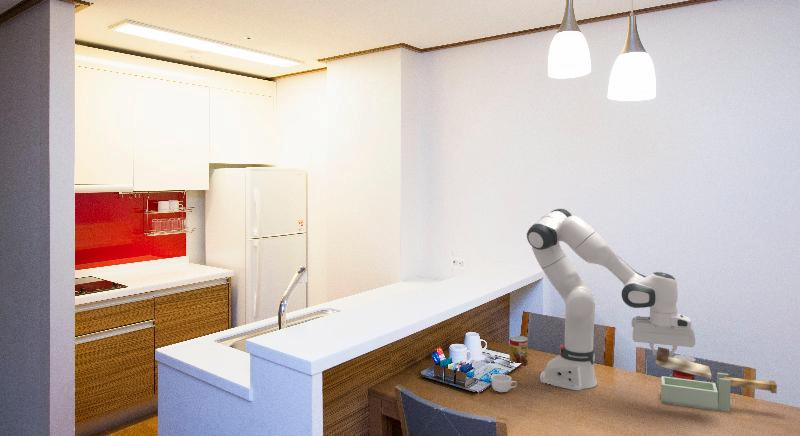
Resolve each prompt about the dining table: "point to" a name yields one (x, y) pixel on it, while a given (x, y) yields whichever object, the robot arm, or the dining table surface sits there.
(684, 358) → the canned food
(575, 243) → the robot arm
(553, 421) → the dining table surface
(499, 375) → the teacup
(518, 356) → the canned food
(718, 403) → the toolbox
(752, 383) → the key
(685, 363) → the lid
